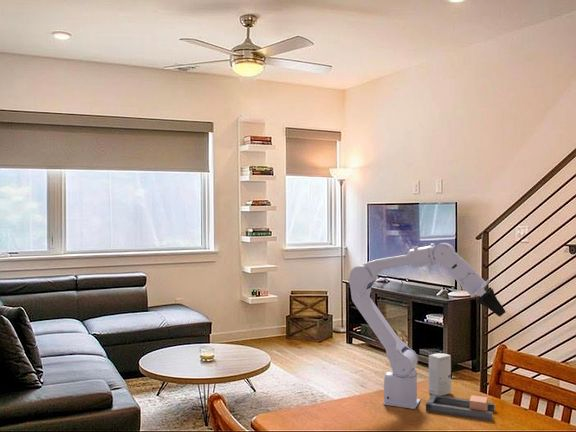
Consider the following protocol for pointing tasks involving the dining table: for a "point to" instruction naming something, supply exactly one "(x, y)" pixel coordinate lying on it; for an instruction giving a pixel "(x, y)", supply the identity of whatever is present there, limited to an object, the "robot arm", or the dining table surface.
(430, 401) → the grey tray
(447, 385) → the skincare box
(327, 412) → the dining table surface
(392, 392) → the robot arm
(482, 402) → the block
